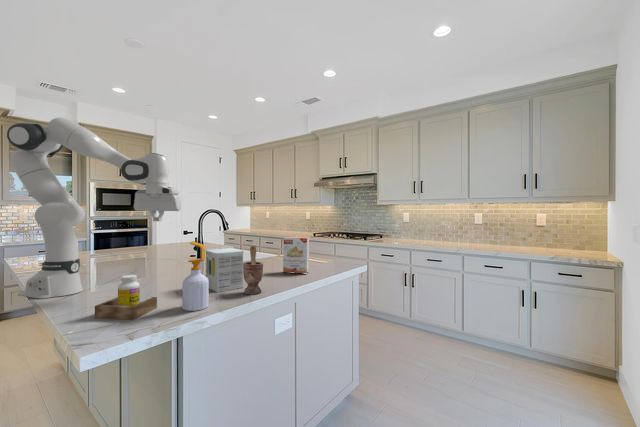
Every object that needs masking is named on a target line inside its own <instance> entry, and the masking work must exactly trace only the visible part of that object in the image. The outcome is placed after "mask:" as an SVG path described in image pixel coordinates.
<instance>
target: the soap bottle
mask: <svg viewBox="0 0 640 427" xmlns="http://www.w3.org/2000/svg"><path fill="white" fill-rule="evenodd" d="M189 244H190V245H193V246H196V247H198V248H200V258H199V259H197V258H196V259H194V258H191V259H189V260H188V263H191V265H193V267H191V268H190V274H189V275H188V276H186V277H185V278H183V281H182V290H181V292H182V298H181V299H182V300H181V301H182V303H181V304H182V305H181V306H182V307H181V308H182V309H183V311H187V312H195V311H196V312H197V311H202V310H205V309H207V308H208V307H209V297H210V296H209V293H210V292H209V290H210V289H209V281H208V278H207V277H206V275H204V274H202V273H201V270H202V269H201V267H200V266H199V265H200V262H203V261H205V260H206V245H205V244H202V243H200V242H196V241H191V242H189Z"/></svg>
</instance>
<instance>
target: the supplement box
mask: <svg viewBox="0 0 640 427" xmlns="http://www.w3.org/2000/svg"><path fill="white" fill-rule="evenodd" d="M243 263H244V251H243V250H241V249H236V248H231V247H227V248H217V249H216V248H214V249H205V277H207V278H208V281H209V290H212V291H214V292H216V293H219V292H221V293H222V292H227V291H230V290H231V291H232V290H236V289H237V288H238V289H242V287H243V288H244V275H243ZM238 289H237V290H238Z"/></svg>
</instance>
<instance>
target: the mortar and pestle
mask: <svg viewBox="0 0 640 427" xmlns="http://www.w3.org/2000/svg"><path fill="white" fill-rule="evenodd" d="M249 252H250V261H247V262H246V261H245V262H243V280H244V282H245V283H246V284H247V287H246V288H244V291H243V293H244V294H246V295H249V294H253V295H257V294H258V293H259V294H261V293H262V289H261V287H260V286H259V283H260V282H261V281H262V278H263V274H264V273H263V272H264V262H261V261H257V258H256V256H257V247H256V245H251V246H250V248H249Z"/></svg>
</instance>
